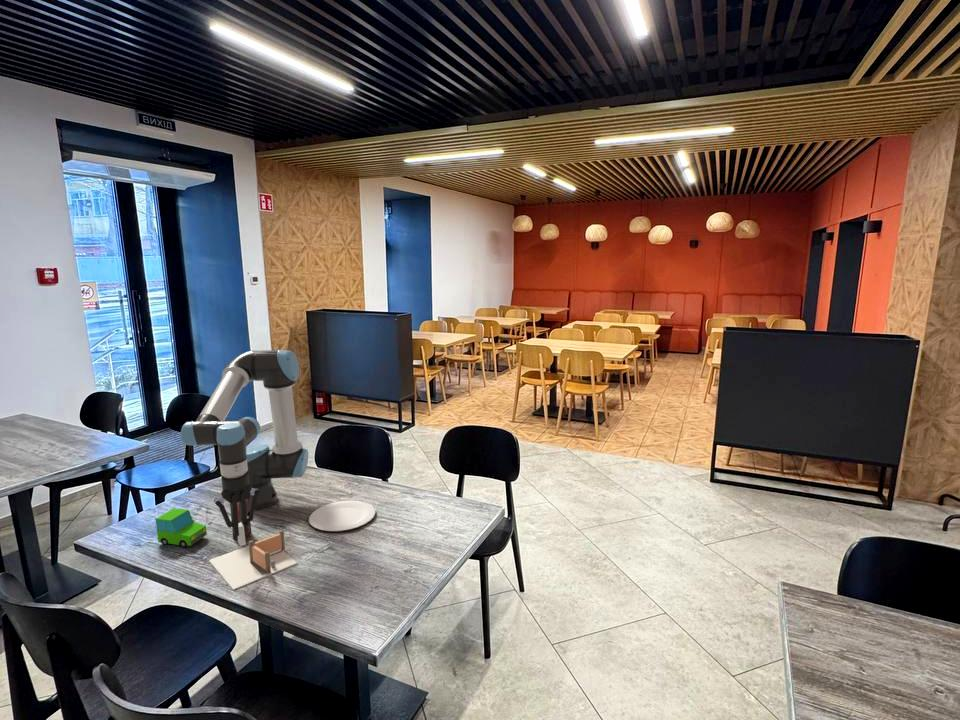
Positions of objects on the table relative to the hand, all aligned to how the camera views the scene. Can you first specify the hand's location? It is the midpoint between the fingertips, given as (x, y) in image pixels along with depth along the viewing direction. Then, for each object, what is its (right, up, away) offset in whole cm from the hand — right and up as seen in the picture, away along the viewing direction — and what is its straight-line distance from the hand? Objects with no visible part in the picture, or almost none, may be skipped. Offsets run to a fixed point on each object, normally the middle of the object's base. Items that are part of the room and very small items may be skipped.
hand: (241, 543), depth 161 cm
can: (-11, -6, +24) cm, 27 cm away
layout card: (0, -9, +7) cm, 11 cm away
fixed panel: (+4, -8, +10) cm, 13 cm away
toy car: (-30, -7, +20) cm, 37 cm away
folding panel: (+5, -9, +3) cm, 11 cm away
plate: (+22, -4, +38) cm, 44 cm away
